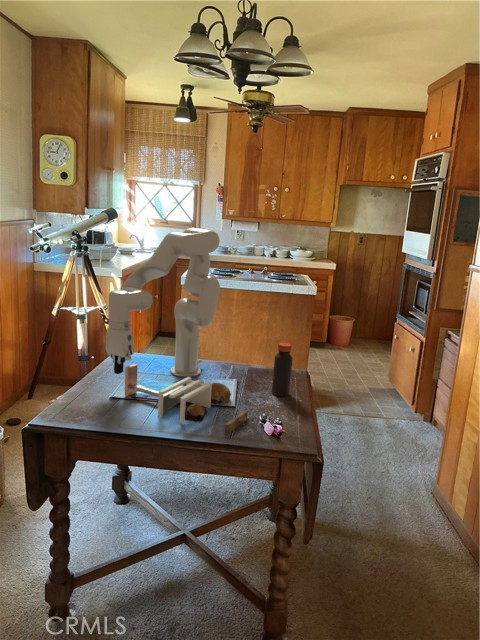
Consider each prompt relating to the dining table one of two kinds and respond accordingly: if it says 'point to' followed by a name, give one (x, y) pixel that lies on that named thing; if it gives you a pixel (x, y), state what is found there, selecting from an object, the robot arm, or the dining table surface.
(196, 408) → the bread roll
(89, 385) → the dining table surface
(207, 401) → the white slatted rack
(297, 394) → the dining table surface
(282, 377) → the bottle
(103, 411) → the dining table surface
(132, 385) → the rod with wooden block
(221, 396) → the bread roll
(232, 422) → the bar
